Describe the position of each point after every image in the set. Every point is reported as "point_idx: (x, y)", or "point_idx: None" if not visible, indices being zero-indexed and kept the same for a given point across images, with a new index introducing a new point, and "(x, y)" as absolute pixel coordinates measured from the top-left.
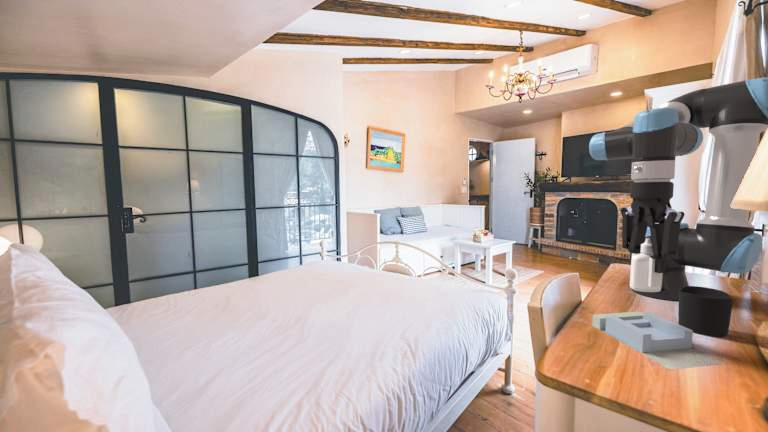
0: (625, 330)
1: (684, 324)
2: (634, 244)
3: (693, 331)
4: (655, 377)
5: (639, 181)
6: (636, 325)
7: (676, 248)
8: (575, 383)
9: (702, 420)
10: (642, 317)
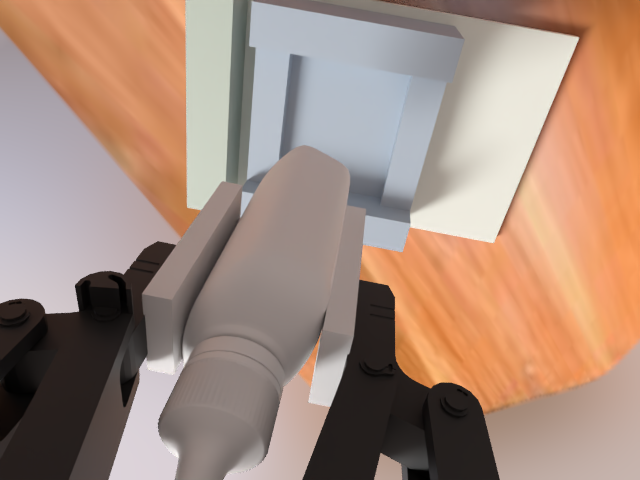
0: None
1: None
2: (120, 436)
3: None
4: (486, 285)
5: None
6: (285, 108)
7: (491, 474)
8: None
9: (615, 348)
10: (236, 12)
